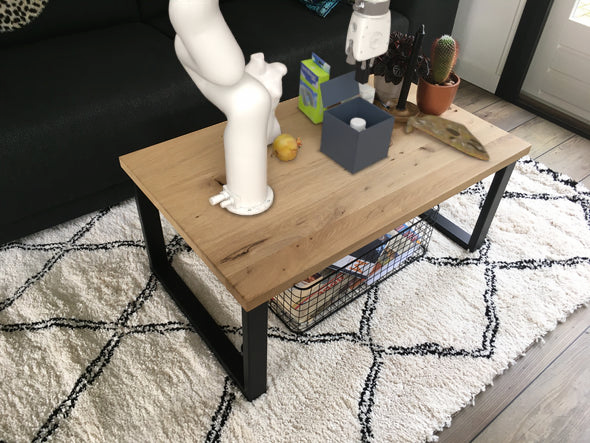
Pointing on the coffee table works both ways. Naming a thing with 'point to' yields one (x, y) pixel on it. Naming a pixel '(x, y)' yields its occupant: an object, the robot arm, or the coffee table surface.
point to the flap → (339, 89)
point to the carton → (356, 134)
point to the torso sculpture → (269, 87)
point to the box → (312, 87)
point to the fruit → (285, 147)
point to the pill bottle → (358, 124)
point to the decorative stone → (449, 134)
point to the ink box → (364, 93)
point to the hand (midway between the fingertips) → (361, 81)
